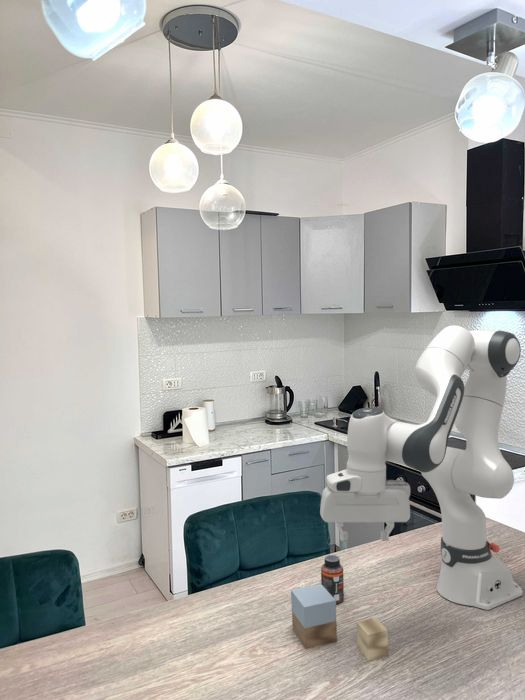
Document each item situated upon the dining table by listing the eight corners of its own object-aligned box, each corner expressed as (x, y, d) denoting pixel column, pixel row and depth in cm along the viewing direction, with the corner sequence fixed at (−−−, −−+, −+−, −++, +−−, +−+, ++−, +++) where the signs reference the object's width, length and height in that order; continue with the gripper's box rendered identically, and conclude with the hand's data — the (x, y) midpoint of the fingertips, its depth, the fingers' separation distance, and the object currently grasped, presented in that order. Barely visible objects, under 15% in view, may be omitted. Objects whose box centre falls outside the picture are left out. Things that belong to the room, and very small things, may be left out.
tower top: (321, 603, 128) (321, 584, 128) (336, 621, 120) (335, 600, 120) (291, 610, 125) (291, 590, 125) (304, 628, 118) (304, 607, 117)
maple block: (376, 643, 120) (376, 617, 119) (388, 656, 115) (387, 630, 114) (357, 647, 118) (356, 622, 118) (368, 661, 113) (367, 634, 113)
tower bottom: (322, 623, 128) (322, 603, 128) (336, 642, 120) (336, 621, 120) (292, 629, 126) (292, 610, 125) (305, 649, 118) (304, 628, 118)
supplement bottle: (343, 606, 135) (342, 564, 134) (320, 604, 136) (319, 562, 136) (344, 594, 141) (343, 553, 140) (322, 592, 142) (321, 552, 142)
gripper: (405, 476, 121) (404, 534, 122) (319, 476, 120) (318, 535, 120) (415, 483, 115) (413, 545, 115) (324, 483, 114) (323, 546, 114)
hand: (364, 540), depth 118 cm, fingers open, 8 cm apart
